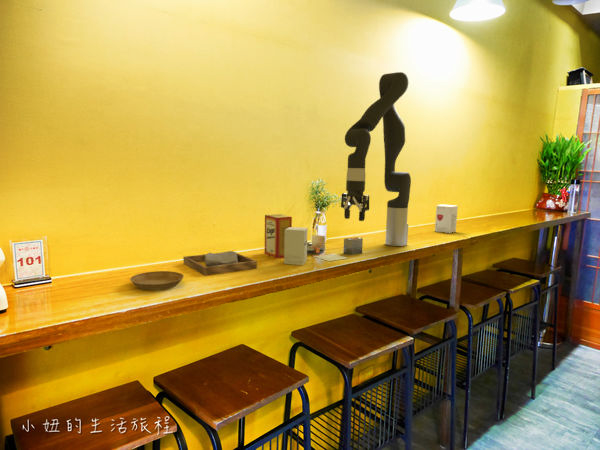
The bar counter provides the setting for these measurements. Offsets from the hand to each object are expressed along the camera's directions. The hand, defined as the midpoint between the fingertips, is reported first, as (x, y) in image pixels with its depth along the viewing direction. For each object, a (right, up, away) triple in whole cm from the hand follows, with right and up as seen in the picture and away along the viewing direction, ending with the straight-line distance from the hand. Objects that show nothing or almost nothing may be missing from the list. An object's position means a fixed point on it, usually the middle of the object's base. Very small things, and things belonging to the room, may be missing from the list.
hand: (354, 219), depth 171 cm
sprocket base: (-19, -13, +4) cm, 23 cm away
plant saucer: (-64, -20, -48) cm, 82 cm away
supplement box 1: (-24, -16, -17) cm, 33 cm away
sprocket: (-19, -13, +4) cm, 23 cm away
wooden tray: (-50, -16, -24) cm, 58 cm away
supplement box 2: (+59, -6, +64) cm, 88 cm away
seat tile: (-10, -15, -7) cm, 19 cm away
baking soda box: (-31, -14, -5) cm, 34 cm away
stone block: (-50, -17, -22) cm, 57 cm away
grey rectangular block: (0, -14, +2) cm, 14 cm away
